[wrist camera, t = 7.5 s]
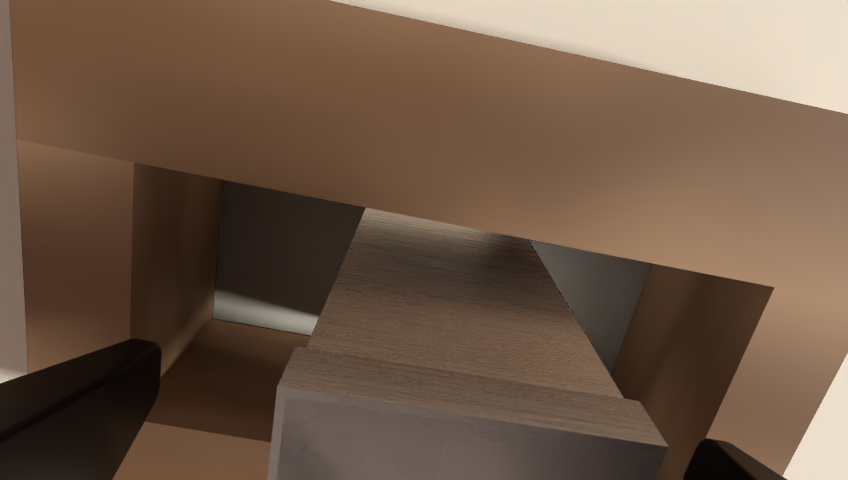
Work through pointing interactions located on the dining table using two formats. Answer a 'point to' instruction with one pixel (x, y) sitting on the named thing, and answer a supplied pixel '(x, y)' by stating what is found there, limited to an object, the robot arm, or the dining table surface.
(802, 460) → the dining table surface
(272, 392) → the well board
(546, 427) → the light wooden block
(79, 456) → the robot arm
